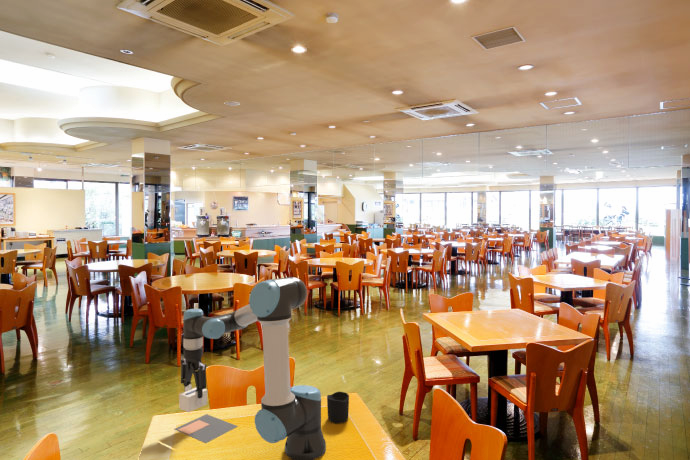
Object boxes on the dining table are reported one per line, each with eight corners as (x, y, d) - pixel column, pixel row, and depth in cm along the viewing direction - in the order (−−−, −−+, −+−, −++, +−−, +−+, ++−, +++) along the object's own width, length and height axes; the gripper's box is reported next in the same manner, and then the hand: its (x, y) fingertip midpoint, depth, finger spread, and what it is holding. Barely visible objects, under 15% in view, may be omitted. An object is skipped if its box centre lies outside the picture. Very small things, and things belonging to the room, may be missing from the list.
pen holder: (349, 424, 176) (349, 400, 175) (326, 424, 176) (326, 400, 176) (348, 414, 185) (348, 391, 185) (327, 414, 185) (327, 391, 185)
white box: (188, 412, 167) (188, 396, 167) (179, 408, 170) (179, 393, 170) (207, 404, 174) (207, 389, 174) (198, 400, 178) (198, 386, 178)
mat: (238, 427, 173) (238, 425, 173) (205, 444, 160) (205, 442, 160) (206, 415, 184) (206, 413, 184) (174, 430, 171) (174, 428, 171)
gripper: (216, 349, 170) (216, 405, 170) (186, 341, 180) (186, 394, 181) (200, 354, 163) (200, 412, 164) (171, 345, 174) (171, 400, 174)
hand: (193, 403), depth 172 cm, fingers closed on white box, 6 cm apart
